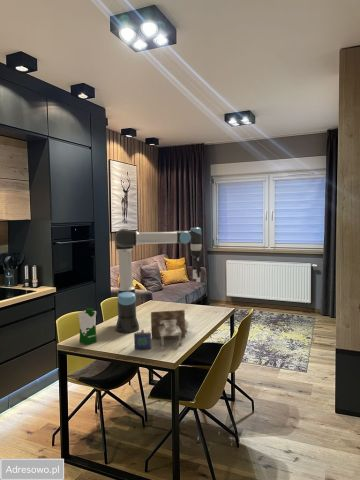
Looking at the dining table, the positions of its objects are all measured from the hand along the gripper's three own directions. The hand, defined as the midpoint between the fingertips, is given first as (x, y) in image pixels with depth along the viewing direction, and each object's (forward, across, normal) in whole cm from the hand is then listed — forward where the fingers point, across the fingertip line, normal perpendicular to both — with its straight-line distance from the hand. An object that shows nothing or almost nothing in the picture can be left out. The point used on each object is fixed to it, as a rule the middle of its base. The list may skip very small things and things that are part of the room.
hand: (196, 280), depth 255 cm
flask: (+28, -51, +40) cm, 71 cm away
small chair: (+28, -42, +24) cm, 56 cm away
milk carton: (+28, -34, +71) cm, 84 cm away
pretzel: (+28, -23, +15) cm, 39 cm away
